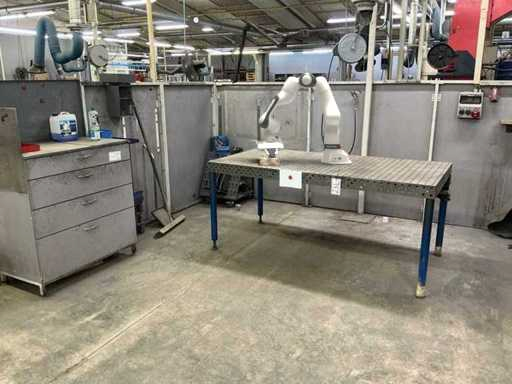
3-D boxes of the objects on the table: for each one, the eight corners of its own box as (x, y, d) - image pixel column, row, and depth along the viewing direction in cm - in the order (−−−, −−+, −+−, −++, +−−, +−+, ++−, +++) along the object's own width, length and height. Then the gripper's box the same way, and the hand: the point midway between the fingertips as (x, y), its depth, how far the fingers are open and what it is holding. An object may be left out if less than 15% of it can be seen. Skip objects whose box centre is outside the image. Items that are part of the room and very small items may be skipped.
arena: (279, 162, 296) (280, 155, 295) (279, 165, 283) (279, 158, 281) (261, 162, 297) (261, 155, 296) (259, 165, 284) (259, 158, 283)
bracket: (274, 160, 295) (274, 148, 293) (277, 162, 287) (277, 150, 285) (267, 161, 294) (268, 149, 292) (270, 162, 286) (270, 150, 284)
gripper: (255, 137, 293) (259, 152, 286) (282, 137, 298) (286, 151, 291) (254, 143, 298) (257, 157, 291) (280, 142, 303) (284, 156, 296)
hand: (272, 154), depth 291 cm, fingers closed on bracket, 5 cm apart
